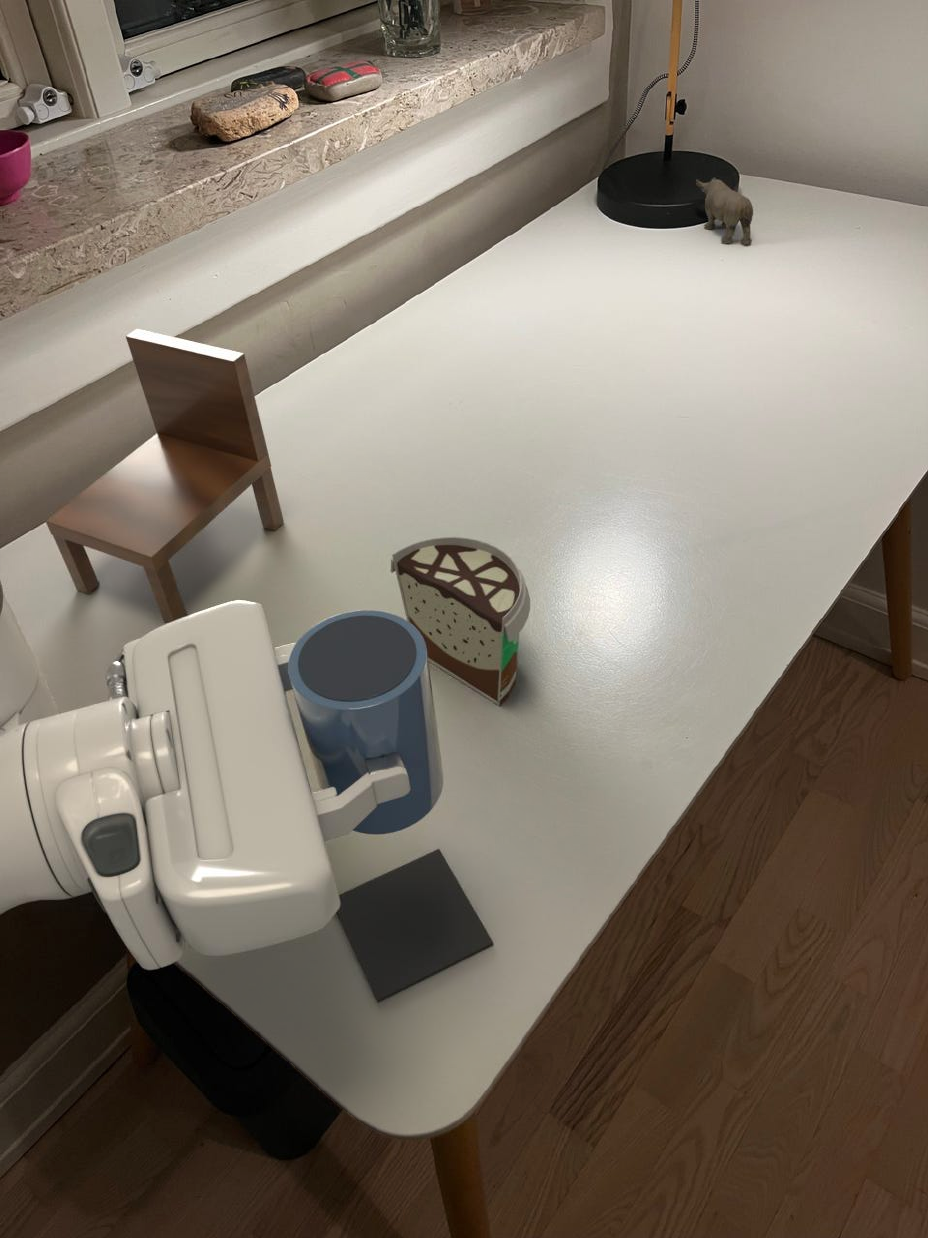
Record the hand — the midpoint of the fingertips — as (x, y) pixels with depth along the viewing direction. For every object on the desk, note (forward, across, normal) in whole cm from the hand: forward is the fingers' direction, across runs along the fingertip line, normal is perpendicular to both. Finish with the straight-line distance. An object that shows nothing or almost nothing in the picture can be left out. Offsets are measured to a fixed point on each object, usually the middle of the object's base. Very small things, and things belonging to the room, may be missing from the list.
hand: (385, 714), depth 53 cm
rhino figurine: (+67, -86, -20) cm, 111 cm away
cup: (-1, 0, -6) cm, 6 cm away
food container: (+11, -21, -20) cm, 31 cm away
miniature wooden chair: (-11, -44, -20) cm, 49 cm away
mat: (-1, 0, -20) cm, 20 cm away
